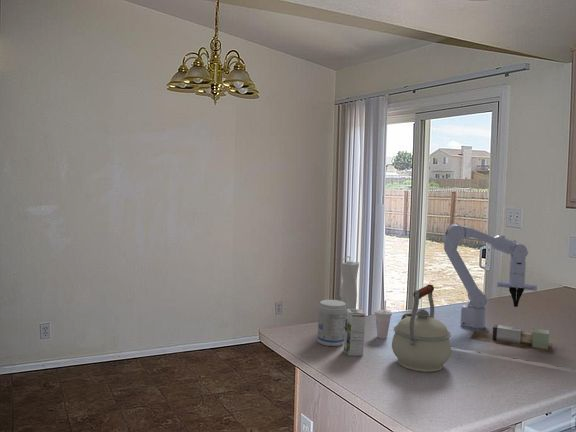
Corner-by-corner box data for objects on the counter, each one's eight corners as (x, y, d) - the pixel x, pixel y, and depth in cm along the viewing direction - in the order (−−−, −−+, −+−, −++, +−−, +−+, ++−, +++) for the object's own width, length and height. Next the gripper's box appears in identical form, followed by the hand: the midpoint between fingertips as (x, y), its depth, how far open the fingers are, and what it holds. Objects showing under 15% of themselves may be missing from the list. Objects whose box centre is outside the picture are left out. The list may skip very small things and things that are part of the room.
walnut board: (469, 341, 187) (469, 338, 187) (474, 333, 198) (474, 331, 198) (550, 354, 174) (550, 352, 174) (551, 346, 185) (551, 343, 185)
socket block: (532, 346, 180) (533, 331, 179) (533, 342, 185) (533, 328, 185) (547, 349, 177) (548, 334, 177) (548, 345, 182) (549, 330, 182)
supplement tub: (313, 339, 182) (315, 299, 181) (337, 338, 185) (339, 298, 184) (324, 348, 173) (325, 306, 172) (348, 346, 176) (350, 304, 175)
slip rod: (492, 338, 187) (493, 327, 187) (493, 335, 191) (494, 324, 190) (540, 346, 179) (541, 334, 179) (541, 343, 183) (542, 331, 183)
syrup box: (343, 350, 171) (344, 308, 170) (360, 350, 171) (361, 308, 171) (346, 356, 165) (348, 312, 164) (363, 356, 166) (365, 313, 165)
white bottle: (335, 322, 206) (338, 255, 205) (355, 323, 206) (358, 256, 204) (337, 328, 198) (340, 258, 196) (357, 329, 197) (360, 259, 196)
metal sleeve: (496, 340, 186) (497, 327, 186) (497, 337, 190) (498, 324, 190) (520, 344, 182) (520, 331, 182) (521, 341, 186) (521, 328, 186)
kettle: (439, 381, 146) (444, 297, 144) (380, 367, 155) (384, 288, 154) (460, 358, 167) (464, 284, 165) (406, 347, 176) (410, 277, 175)
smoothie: (390, 340, 184) (392, 303, 184) (373, 338, 186) (374, 301, 185) (390, 335, 191) (392, 299, 190) (373, 333, 192) (375, 298, 191)
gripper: (496, 272, 201) (495, 305, 202) (536, 276, 194) (535, 310, 195) (498, 270, 208) (497, 302, 208) (537, 273, 201) (536, 307, 201)
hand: (515, 306), depth 202 cm, fingers closed
